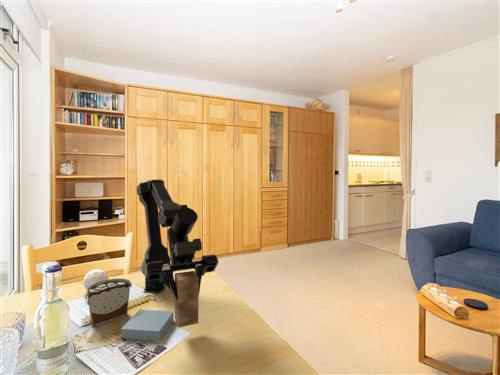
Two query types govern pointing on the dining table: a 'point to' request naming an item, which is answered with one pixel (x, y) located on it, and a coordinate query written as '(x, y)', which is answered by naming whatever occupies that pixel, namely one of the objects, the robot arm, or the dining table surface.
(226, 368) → the dining table surface
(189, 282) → the walnut block
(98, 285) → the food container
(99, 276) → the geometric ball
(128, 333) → the slate-blue block
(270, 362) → the dining table surface
